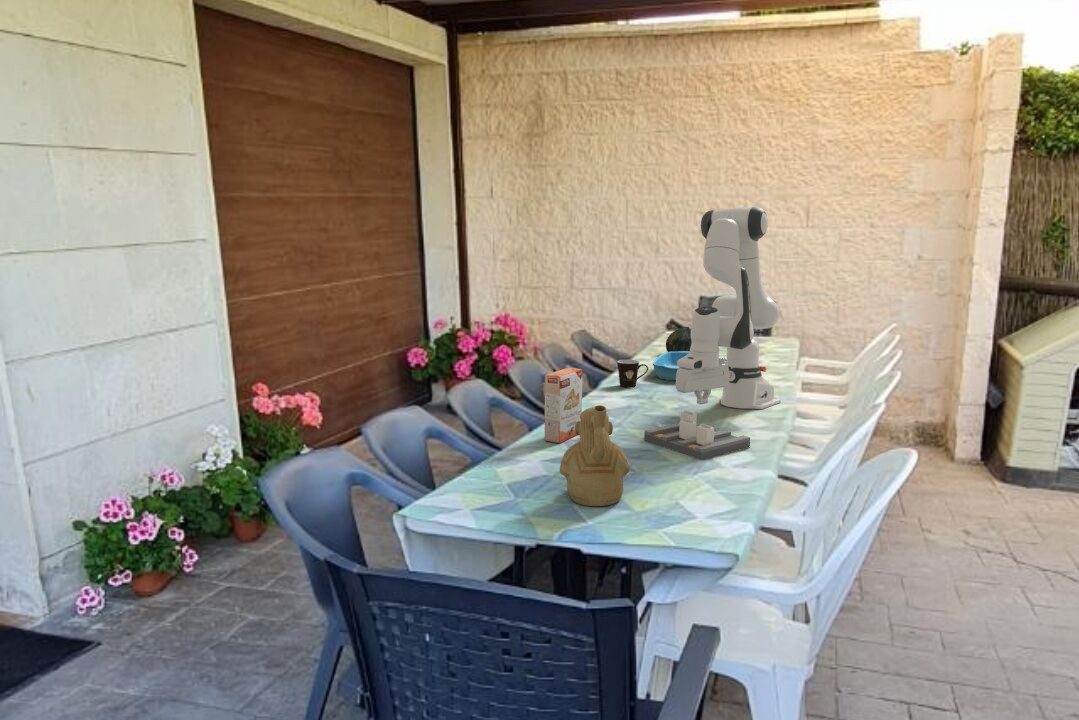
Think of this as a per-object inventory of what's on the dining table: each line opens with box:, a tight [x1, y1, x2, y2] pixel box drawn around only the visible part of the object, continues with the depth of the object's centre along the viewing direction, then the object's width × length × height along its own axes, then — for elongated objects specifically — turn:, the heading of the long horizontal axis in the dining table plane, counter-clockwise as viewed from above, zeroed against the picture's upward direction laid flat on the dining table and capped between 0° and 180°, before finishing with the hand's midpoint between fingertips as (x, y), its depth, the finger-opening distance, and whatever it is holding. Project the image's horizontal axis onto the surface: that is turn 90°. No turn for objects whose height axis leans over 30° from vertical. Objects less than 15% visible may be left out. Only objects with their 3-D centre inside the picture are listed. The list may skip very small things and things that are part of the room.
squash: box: [665, 326, 692, 352], centre depth 378 cm, size 14×15×15 cm
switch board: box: [643, 422, 751, 461], centre depth 236 cm, size 20×24×3 cm
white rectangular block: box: [679, 419, 698, 440], centre depth 233 cm, size 3×4×6 cm
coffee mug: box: [616, 359, 649, 389], centre depth 313 cm, size 12×9×10 cm
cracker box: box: [544, 367, 584, 444], centre depth 242 cm, size 14×6×21 cm, turn 148°
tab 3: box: [696, 423, 715, 445], centre depth 228 cm, size 3×4×6 cm
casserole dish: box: [652, 351, 690, 381], centre depth 336 cm, size 37×22×7 cm, turn 160°
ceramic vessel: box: [559, 404, 631, 507], centre depth 190 cm, size 17×20×25 cm
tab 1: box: [679, 410, 698, 424], centre depth 243 cm, size 3×4×6 cm
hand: (702, 403), depth 245 cm, fingers closed
